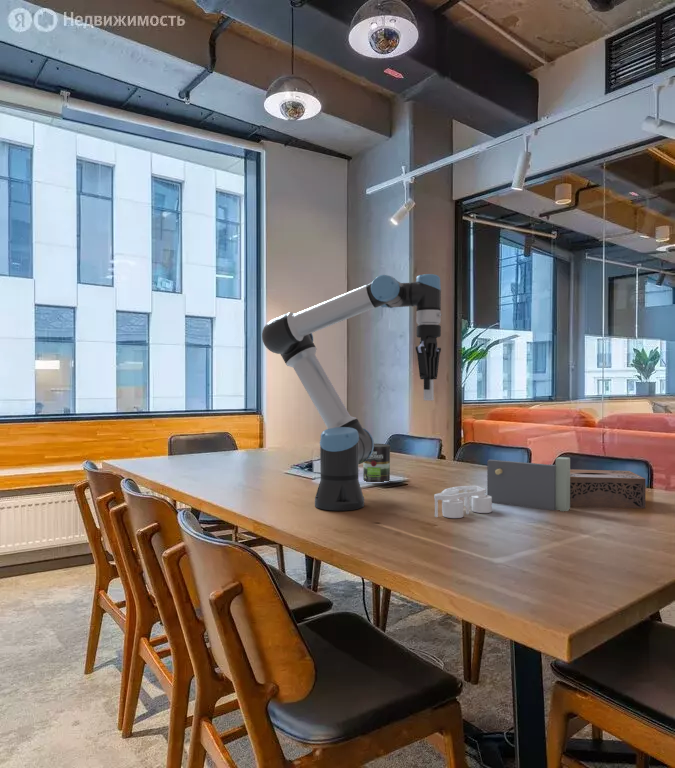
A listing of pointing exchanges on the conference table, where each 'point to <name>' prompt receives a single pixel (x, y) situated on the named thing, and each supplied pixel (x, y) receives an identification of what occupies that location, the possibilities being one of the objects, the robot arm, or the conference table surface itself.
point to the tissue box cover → (607, 489)
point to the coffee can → (377, 464)
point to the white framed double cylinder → (455, 506)
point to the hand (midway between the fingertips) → (428, 400)
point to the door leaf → (530, 484)
